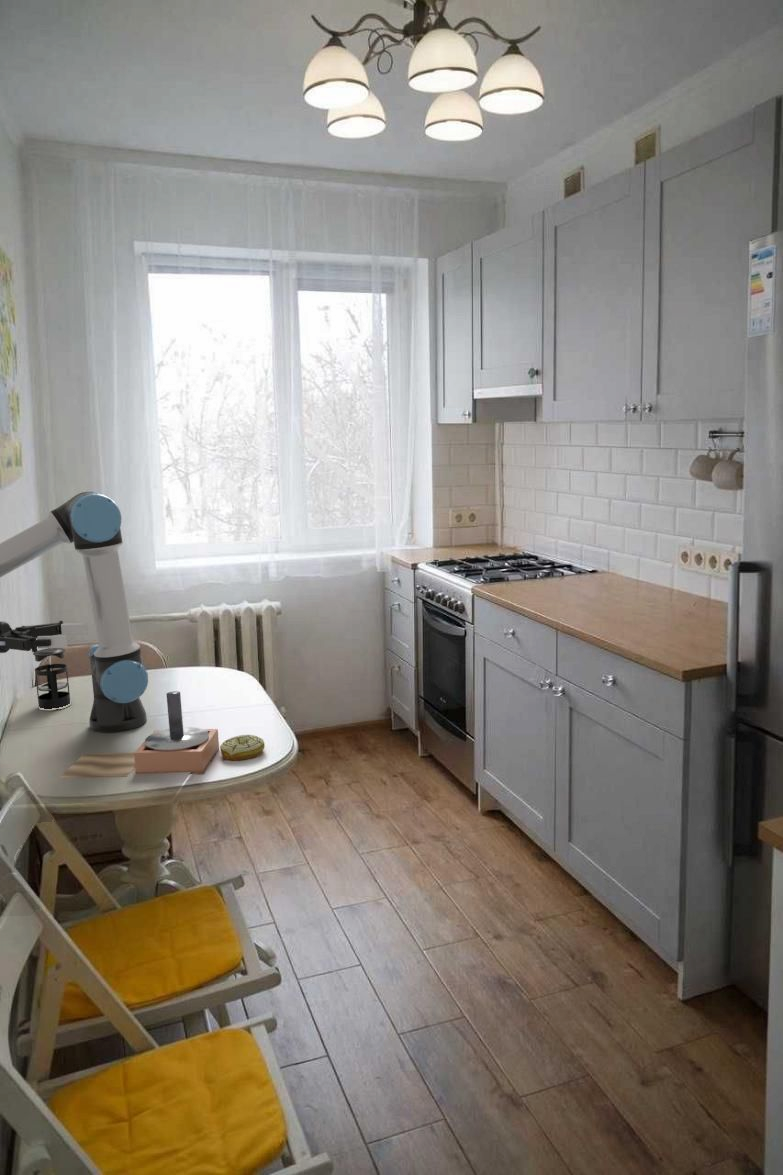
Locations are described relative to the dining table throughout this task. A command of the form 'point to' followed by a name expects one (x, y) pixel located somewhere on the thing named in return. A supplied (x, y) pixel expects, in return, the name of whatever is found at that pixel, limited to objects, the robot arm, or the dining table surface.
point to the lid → (176, 730)
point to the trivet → (101, 765)
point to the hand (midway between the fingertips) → (77, 634)
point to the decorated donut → (242, 747)
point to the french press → (51, 680)
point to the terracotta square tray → (178, 757)
